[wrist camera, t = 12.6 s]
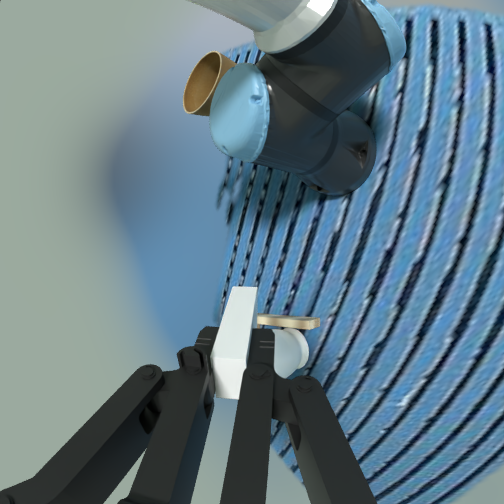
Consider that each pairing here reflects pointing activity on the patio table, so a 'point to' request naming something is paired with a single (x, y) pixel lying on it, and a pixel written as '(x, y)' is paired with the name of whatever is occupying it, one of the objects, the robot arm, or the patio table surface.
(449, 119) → the patio table surface
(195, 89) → the plant pot
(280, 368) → the jar
